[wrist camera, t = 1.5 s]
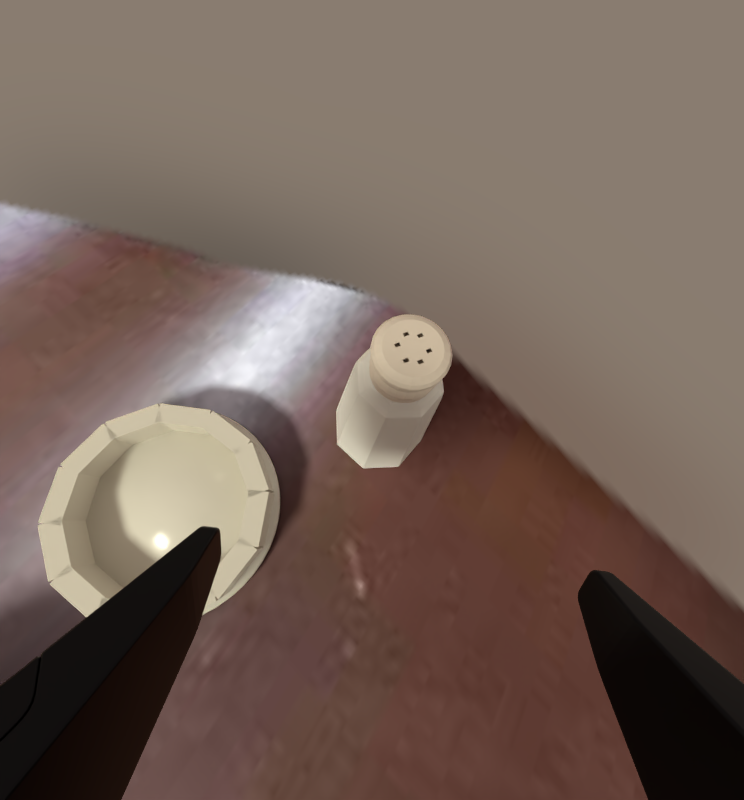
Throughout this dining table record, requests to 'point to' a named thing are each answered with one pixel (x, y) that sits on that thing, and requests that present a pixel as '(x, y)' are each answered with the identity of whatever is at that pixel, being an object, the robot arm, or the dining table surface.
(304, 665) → the dining table surface
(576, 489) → the dining table surface
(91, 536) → the ring dish
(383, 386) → the pepper shaker
